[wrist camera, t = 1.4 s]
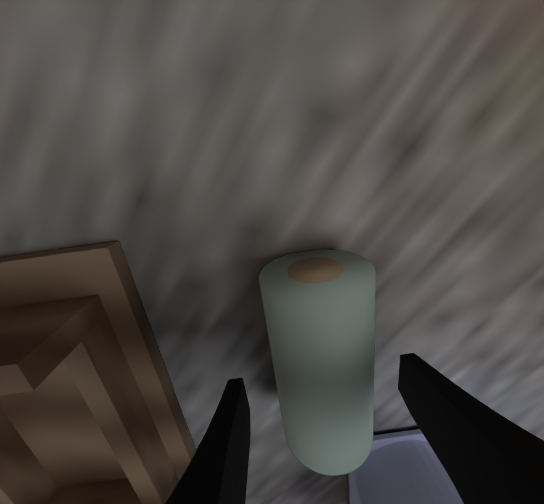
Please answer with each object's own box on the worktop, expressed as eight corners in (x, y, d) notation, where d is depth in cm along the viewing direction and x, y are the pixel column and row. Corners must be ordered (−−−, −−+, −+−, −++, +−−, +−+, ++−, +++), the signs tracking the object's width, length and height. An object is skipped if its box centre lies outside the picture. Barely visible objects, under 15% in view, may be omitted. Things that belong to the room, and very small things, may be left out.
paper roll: (348, 381, 17) (392, 461, 13) (277, 398, 17) (296, 489, 12) (344, 241, 14) (403, 282, 9) (253, 258, 13) (266, 310, 8)
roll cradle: (207, 481, 20) (189, 596, 14) (55, 503, 20) (-17, 625, 14) (118, 240, 13) (22, 298, 7) (-119, 274, 13) (-382, 355, 7)
